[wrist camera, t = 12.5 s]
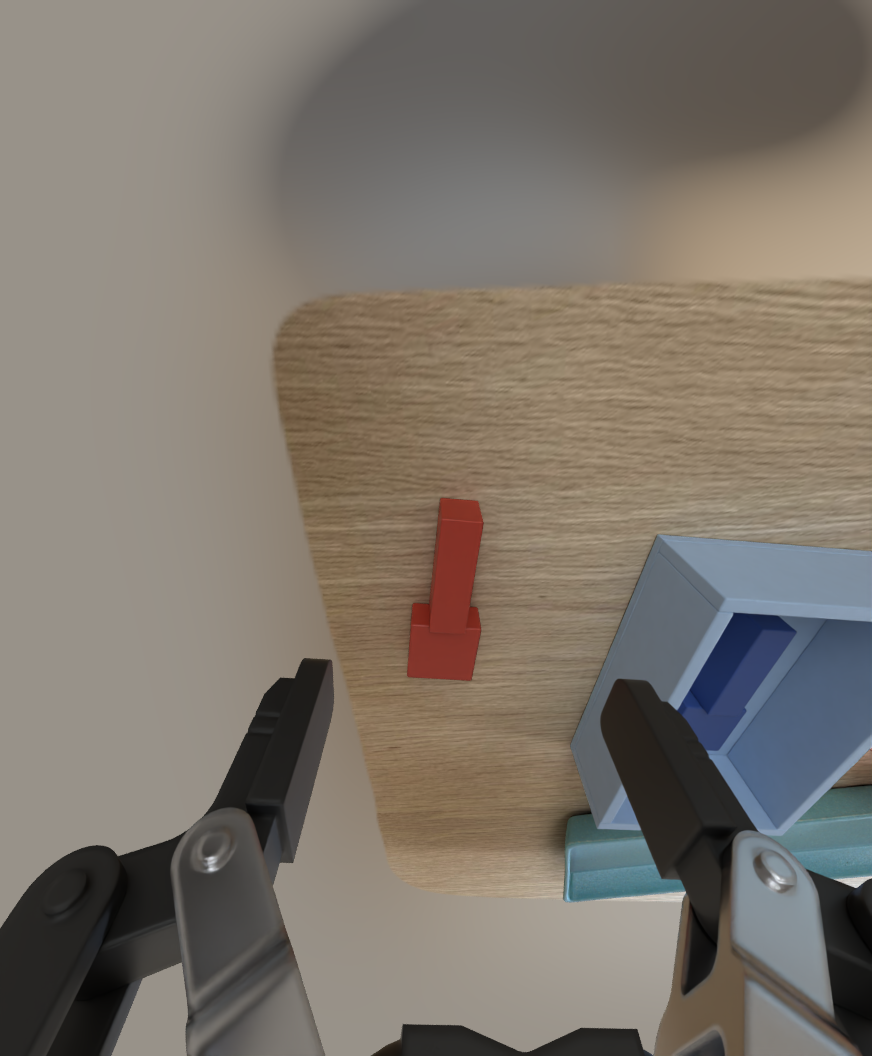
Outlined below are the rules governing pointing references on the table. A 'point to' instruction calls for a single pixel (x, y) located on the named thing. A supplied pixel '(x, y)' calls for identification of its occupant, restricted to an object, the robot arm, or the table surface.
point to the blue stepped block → (733, 675)
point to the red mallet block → (449, 599)
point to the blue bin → (785, 694)
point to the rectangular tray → (629, 870)
